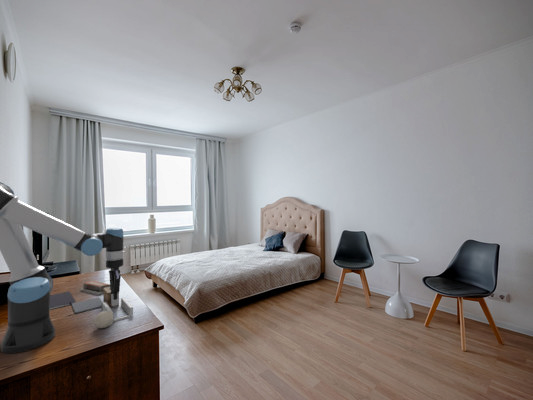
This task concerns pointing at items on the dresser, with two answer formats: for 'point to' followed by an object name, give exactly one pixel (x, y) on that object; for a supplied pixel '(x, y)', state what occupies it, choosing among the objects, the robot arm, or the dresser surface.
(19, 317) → the robot arm
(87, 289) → the packaged product
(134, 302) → the dresser surface
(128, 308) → the rack
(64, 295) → the notebook
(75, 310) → the felt pad
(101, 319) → the cream piece
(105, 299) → the panel
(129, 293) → the dresser surface
